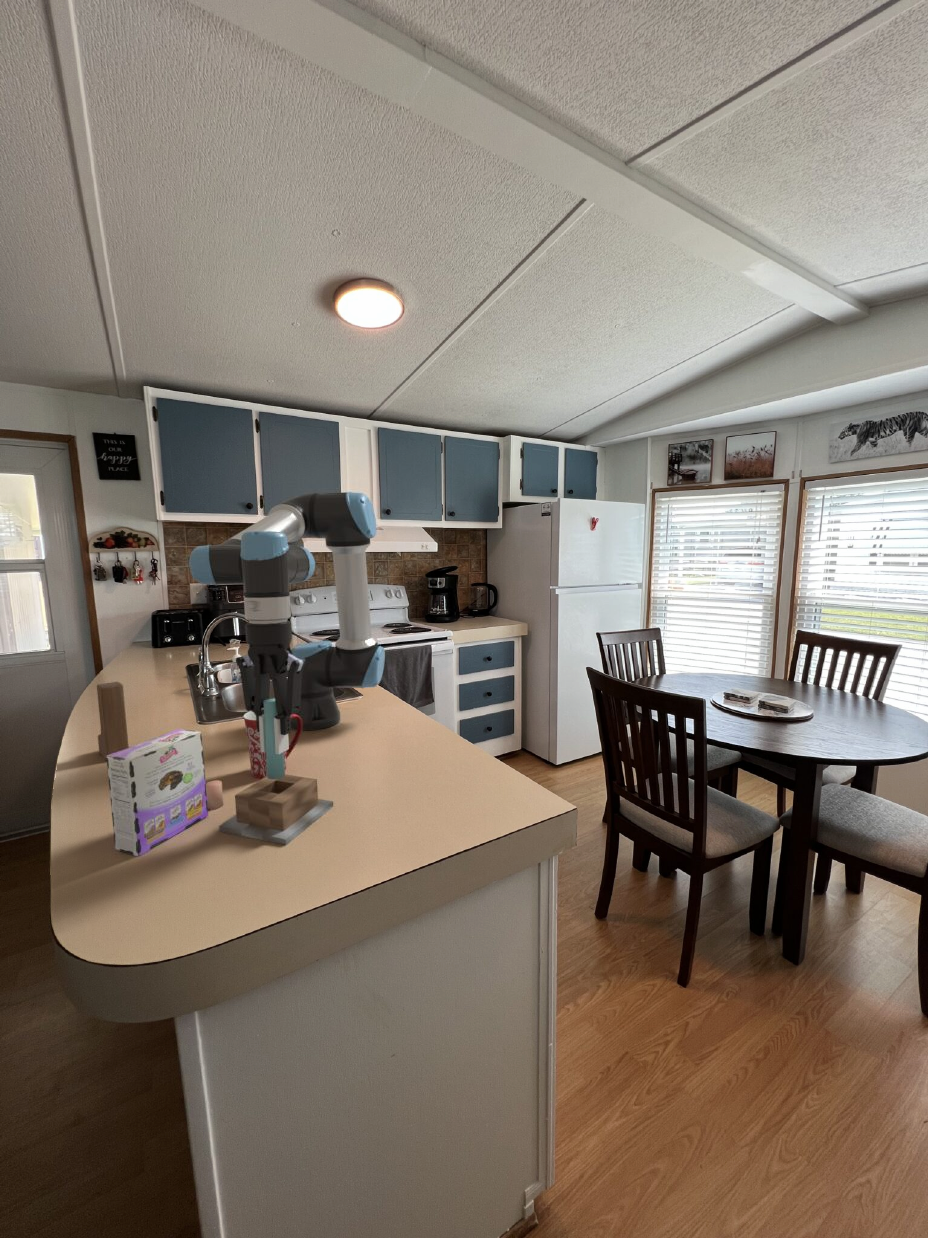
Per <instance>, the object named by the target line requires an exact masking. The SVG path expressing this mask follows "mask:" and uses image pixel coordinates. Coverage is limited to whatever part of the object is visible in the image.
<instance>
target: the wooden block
mask: <svg viewBox="0 0 928 1238" xmlns="http://www.w3.org/2000/svg"><path fill="white" fill-rule="evenodd" d="M96 690H97V691H96V692H97V693H96V694H97V702H98V713H99V722H100V734H98V735H97V742H98V743H97V744H98V751H99V753H100V754H101V755H102V756H103V757H104V759H106V761H107V757H106V756H107V755H110V754H113V753H116V752H118V751H121V750H124V749H127V748H129V737H128V735H129V734H128V725H127V715H126V713H127V712H126V704H125V691H124V684H123V683H121V682H119V681H112V682H106V683H100V684H97V685H96Z"/></svg>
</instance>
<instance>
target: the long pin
mask: <svg viewBox="0 0 928 1238" xmlns="http://www.w3.org/2000/svg"><path fill="white" fill-rule="evenodd" d="M263 703H264V722H265V742H266V761H267V778H268V779H279V778H282V777H284V776H285V774H286V770H285V766H284V752H282V753H281V754H276V752H275V733H274V718H275V716H276V715H277V708H276V702H275V697H274V698H269V699H267V700H264V701H263Z"/></svg>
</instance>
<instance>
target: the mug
mask: <svg viewBox="0 0 928 1238" xmlns="http://www.w3.org/2000/svg"><path fill="white" fill-rule="evenodd" d="M242 718H243V720H244V724H245V732H246V739H247V748H248V755H249V762H250V770H251V775H252V776H253V777H254V778H259V779H263V778H265V777H266V776H267V761H266V752H261V747H260V732H258V731H257V723H256V715H255V714H254V712H252V711H247V712H246V713H244V715H243V716H242ZM293 718H296V720H297V730H296V729H295V733H294V736H293V738H292V740H291V741H290V742H289V749H288V750H286V751H284V766H285V771H286V769H287V759H288V757H289V756H290V754H291V753H292V751H293V750H294V748H295V747H296V745H297V743H298V741H299V740H300V737H301V735H302V732H303V730H302V719H301V718H300V717H299V716H298V715H296V714H292V715H291V719H293Z"/></svg>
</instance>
